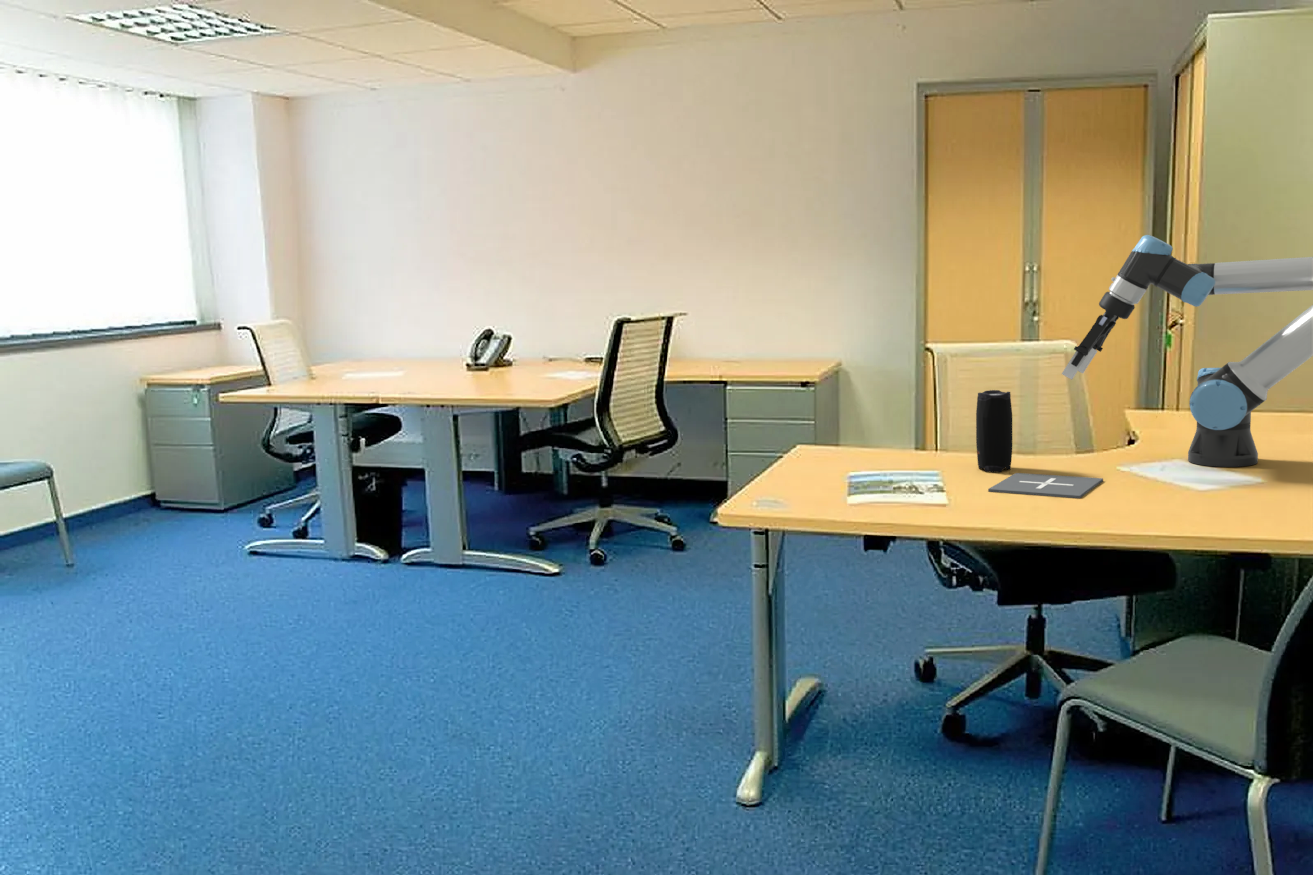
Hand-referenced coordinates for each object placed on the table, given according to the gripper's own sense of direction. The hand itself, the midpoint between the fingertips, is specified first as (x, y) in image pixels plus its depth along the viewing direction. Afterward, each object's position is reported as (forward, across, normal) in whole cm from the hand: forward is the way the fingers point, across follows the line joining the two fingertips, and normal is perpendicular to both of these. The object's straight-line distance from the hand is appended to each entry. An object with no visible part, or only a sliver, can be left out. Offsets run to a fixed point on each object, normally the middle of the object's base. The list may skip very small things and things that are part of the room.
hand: (1072, 373), depth 267 cm
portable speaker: (+28, +10, -2) cm, 30 cm away
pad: (+20, +26, +12) cm, 35 cm away
